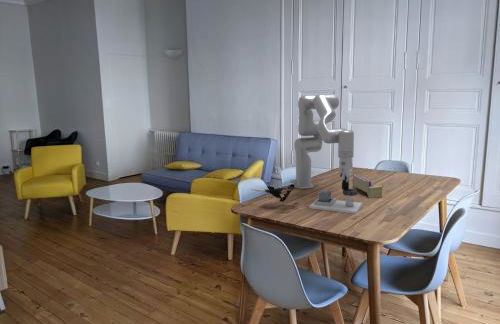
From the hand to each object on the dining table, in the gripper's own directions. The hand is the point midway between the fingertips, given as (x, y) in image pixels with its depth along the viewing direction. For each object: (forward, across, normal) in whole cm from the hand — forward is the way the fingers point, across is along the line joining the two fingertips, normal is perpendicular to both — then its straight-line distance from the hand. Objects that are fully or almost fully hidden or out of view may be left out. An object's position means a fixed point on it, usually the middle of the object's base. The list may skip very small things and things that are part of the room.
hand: (345, 189), depth 199 cm
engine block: (+8, 0, +11) cm, 14 cm away
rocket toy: (+10, -14, +36) cm, 40 cm away
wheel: (+2, 0, -2) cm, 3 cm away
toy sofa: (+10, +34, -5) cm, 36 cm away
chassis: (+10, 0, +5) cm, 11 cm away
